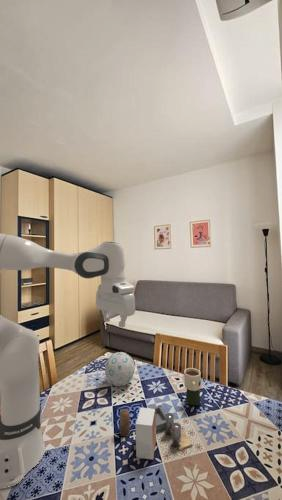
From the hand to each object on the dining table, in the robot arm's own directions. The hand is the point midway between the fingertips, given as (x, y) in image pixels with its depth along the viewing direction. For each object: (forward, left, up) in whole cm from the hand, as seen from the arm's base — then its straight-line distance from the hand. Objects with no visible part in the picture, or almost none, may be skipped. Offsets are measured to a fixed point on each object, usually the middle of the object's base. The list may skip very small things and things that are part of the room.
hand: (114, 324), depth 77 cm
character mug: (+35, +5, -40) cm, 53 cm away
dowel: (+3, +1, -40) cm, 40 cm away
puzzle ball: (+9, +31, -40) cm, 51 cm away
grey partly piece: (+15, +1, -40) cm, 43 cm away
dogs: (+20, -8, -40) cm, 45 cm away
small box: (+8, -8, -40) cm, 42 cm away
